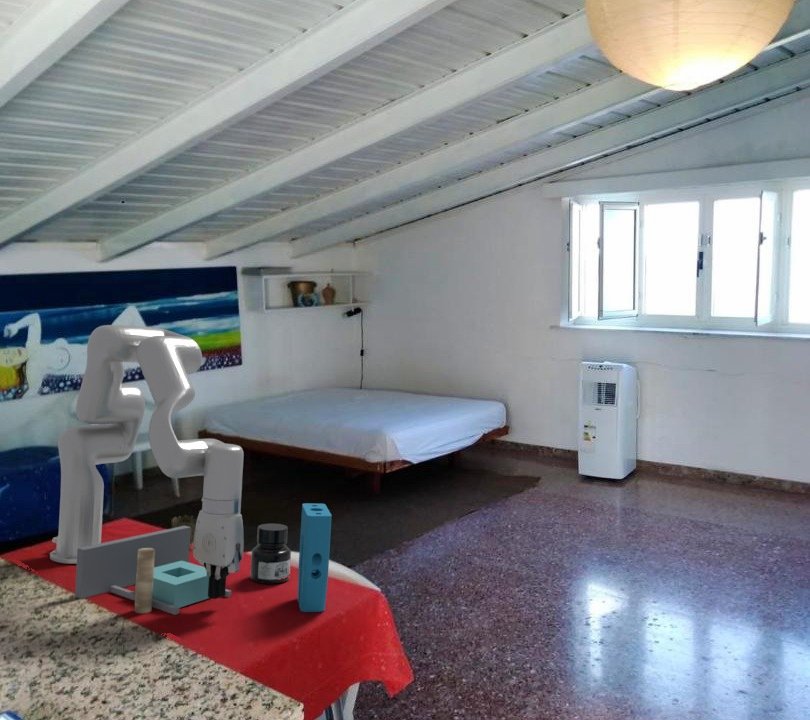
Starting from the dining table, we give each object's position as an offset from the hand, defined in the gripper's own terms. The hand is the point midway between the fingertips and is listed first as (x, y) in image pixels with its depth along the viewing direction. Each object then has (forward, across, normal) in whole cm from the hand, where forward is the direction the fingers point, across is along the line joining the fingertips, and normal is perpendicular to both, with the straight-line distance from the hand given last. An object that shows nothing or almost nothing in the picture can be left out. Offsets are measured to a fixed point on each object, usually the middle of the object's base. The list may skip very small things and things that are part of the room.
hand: (216, 596), depth 153 cm
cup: (+3, -38, +25) cm, 45 cm away
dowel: (+3, -10, -10) cm, 14 cm away
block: (+3, +12, +15) cm, 20 cm away
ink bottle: (+3, -6, +22) cm, 23 cm away
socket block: (+3, -11, 0) cm, 12 cm away
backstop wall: (+3, -15, 0) cm, 15 cm away
